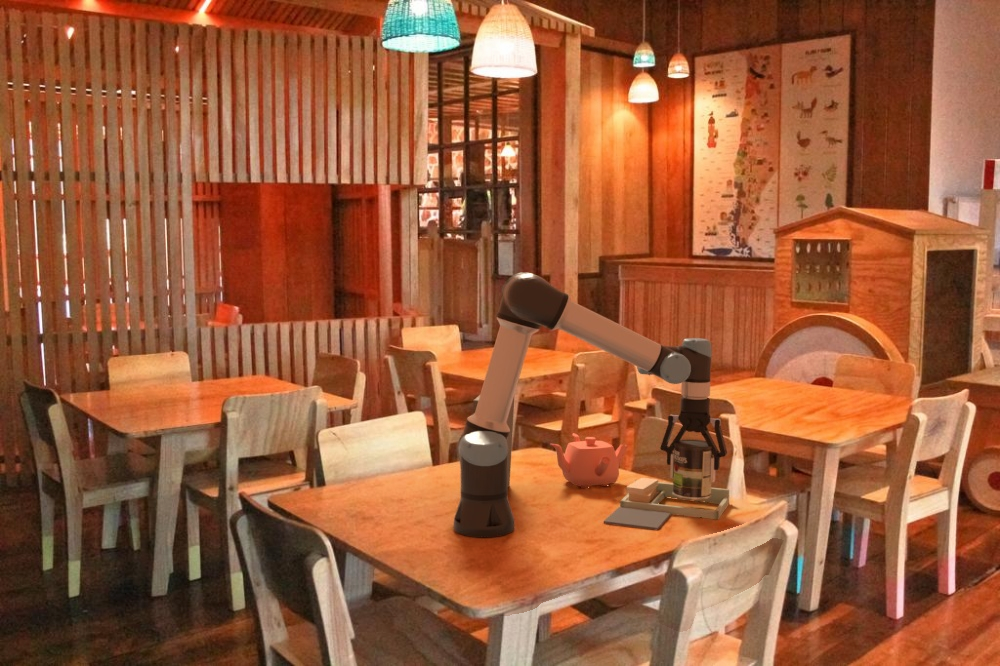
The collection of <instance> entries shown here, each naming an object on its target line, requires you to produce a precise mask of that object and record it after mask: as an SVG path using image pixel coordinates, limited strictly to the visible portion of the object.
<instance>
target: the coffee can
mask: <svg viewBox="0 0 1000 666" xmlns="http://www.w3.org/2000/svg"><path fill="white" fill-rule="evenodd" d="M674 445H675V449H674V450H673V452H674V476H673V478H672V482H673V493H672V494H673V495H674V496H676V497H678V498H682V499H688V500H687V501H689V500H705V499H708V498H710V497H711V488H712V483H710V473H711V458H712V457H713V454H712V452H711V449H712V446H708V444H707V442H706V440H702V439H701V440H700V439H693V438H692V439H691V438H690V439H689V438H686V439H680V441H679V442H678V443H674Z"/></svg>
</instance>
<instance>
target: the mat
mask: <svg viewBox="0 0 1000 666" xmlns="http://www.w3.org/2000/svg"><path fill="white" fill-rule="evenodd" d="M670 515H671V516H672V514H671V513H667V512H659V511H650V510H641V509H633V508H624V507H620V506H618V507H617V508H616V509H615V510H614V511H613V512H612V513H611V514H610V515H608V517H606V518H605V519H604V520H603V524H606V525H613V526H614V525H615V526H621V527H629V528H638V529H645V530H654V531H659V530H660V528H661V527H662V526H663V525H664V524H665V523H666V522H667V520H668V519H669V518H671V517H670Z"/></svg>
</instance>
